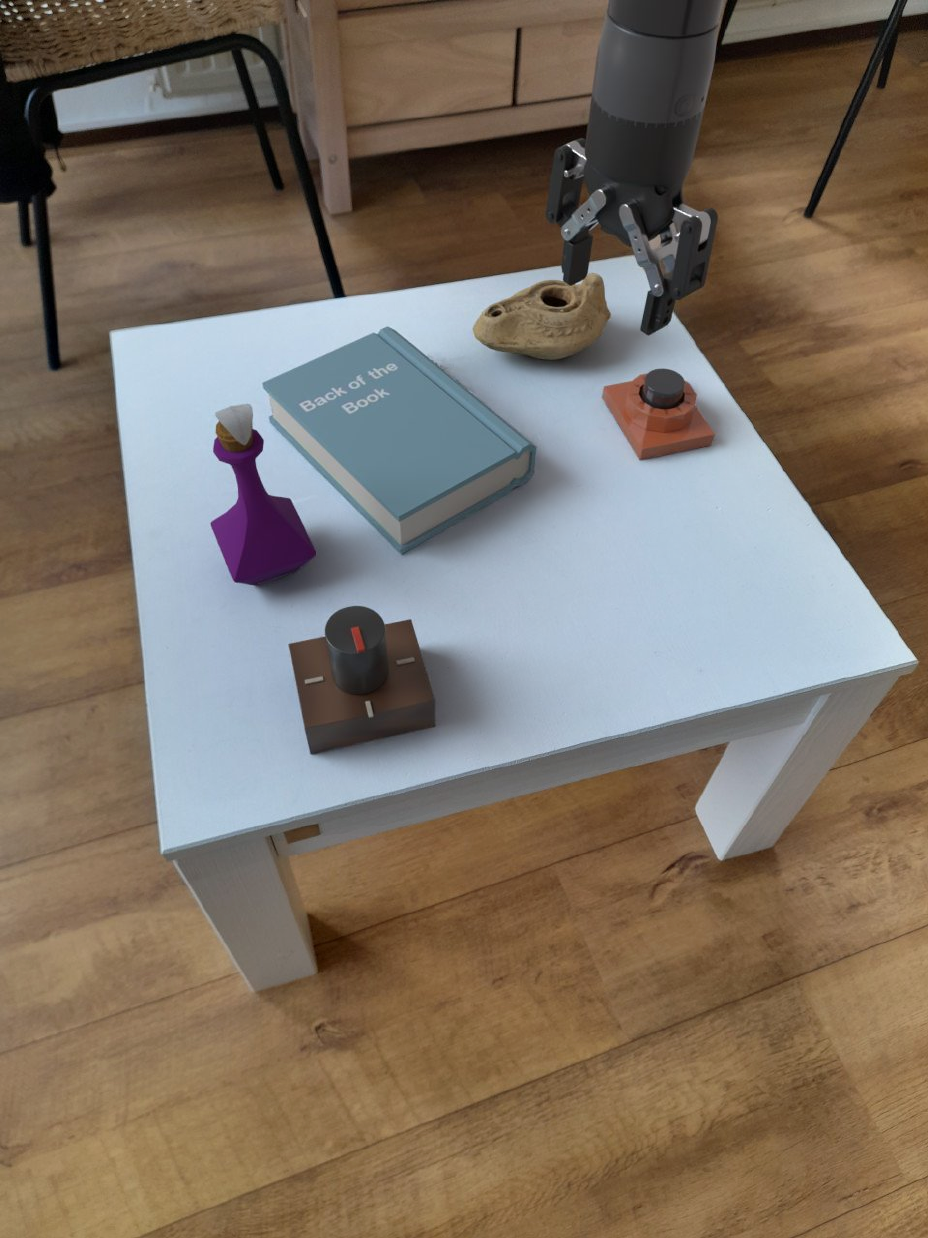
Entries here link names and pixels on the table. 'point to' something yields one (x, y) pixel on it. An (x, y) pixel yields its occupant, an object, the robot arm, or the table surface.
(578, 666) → the table surface
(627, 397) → the button base
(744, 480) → the table surface
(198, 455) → the table surface
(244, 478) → the perfume bottle
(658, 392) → the dark grey knob
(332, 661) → the dial
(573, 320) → the oil lamp
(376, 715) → the dial panel
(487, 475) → the book
